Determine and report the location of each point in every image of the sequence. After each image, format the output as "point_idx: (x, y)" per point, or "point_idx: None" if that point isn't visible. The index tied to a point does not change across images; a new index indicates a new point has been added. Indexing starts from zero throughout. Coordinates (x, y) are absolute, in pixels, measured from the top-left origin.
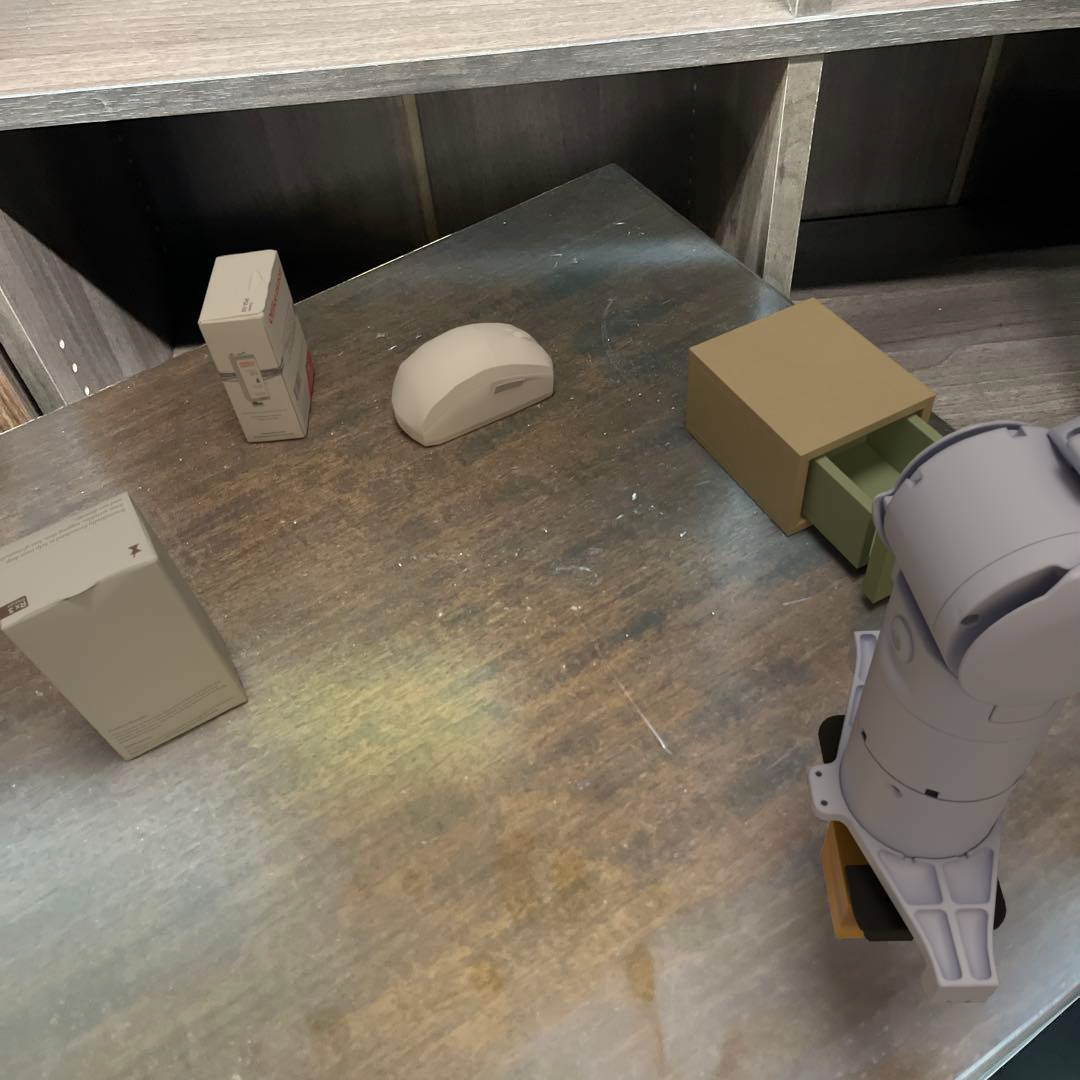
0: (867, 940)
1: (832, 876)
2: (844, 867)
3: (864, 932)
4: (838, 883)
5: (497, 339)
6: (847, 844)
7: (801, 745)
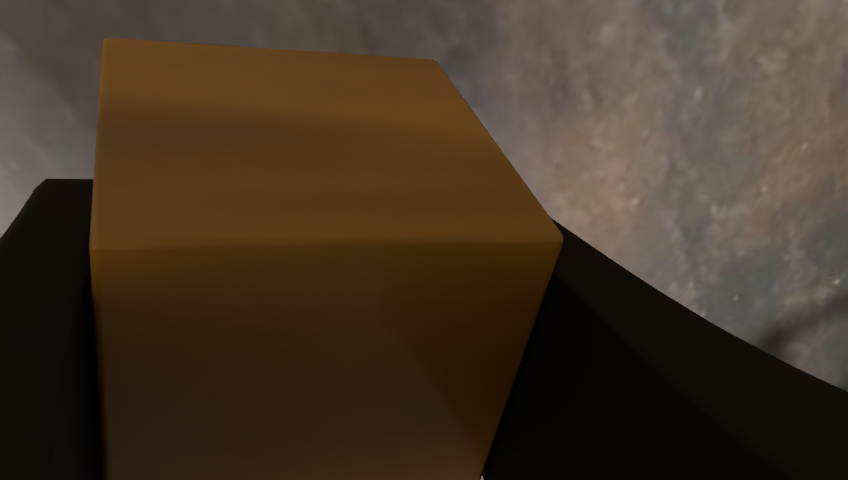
0: (41, 183)
1: (317, 119)
2: (306, 253)
3: (13, 226)
4: (260, 167)
5: None
6: (417, 282)
7: (717, 33)
